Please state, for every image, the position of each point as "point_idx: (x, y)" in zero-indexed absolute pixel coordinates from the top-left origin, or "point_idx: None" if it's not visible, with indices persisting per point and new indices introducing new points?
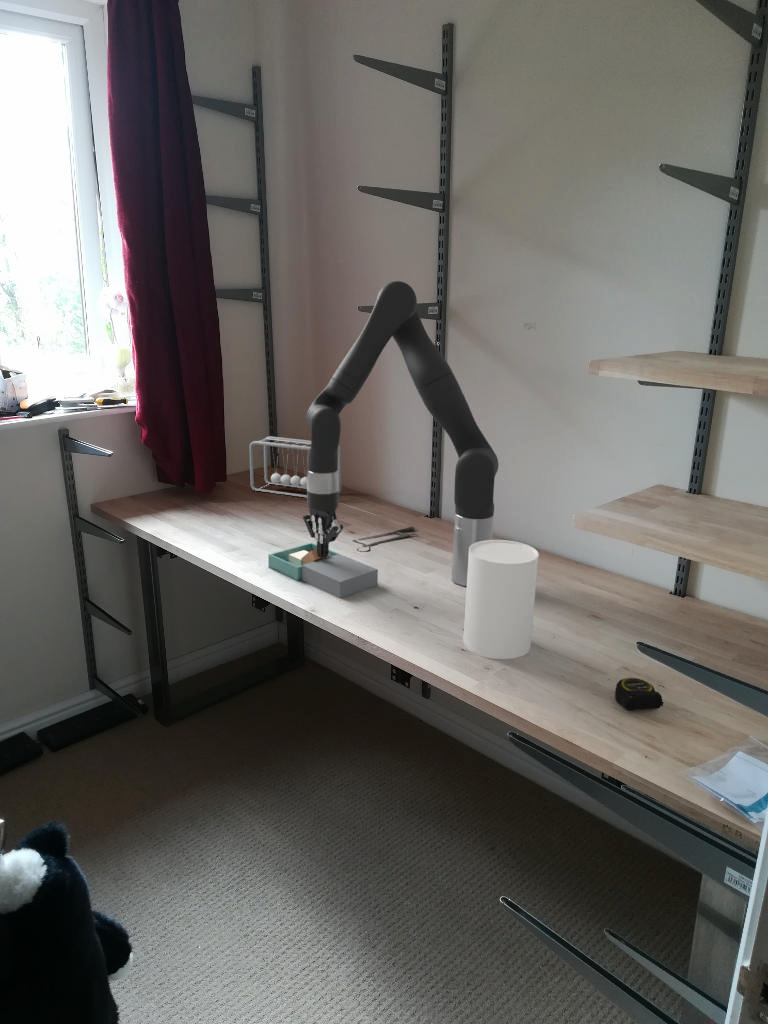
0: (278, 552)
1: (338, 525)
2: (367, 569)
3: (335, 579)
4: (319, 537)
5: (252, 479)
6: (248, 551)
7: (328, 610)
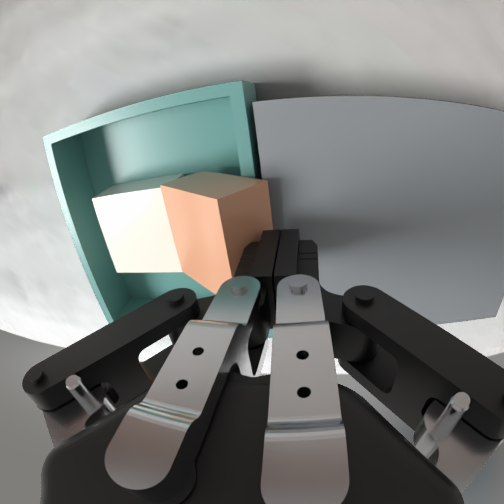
0: (101, 297)
1: (498, 443)
2: None
3: (474, 316)
4: (263, 350)
5: None
6: (25, 268)
7: (482, 337)
